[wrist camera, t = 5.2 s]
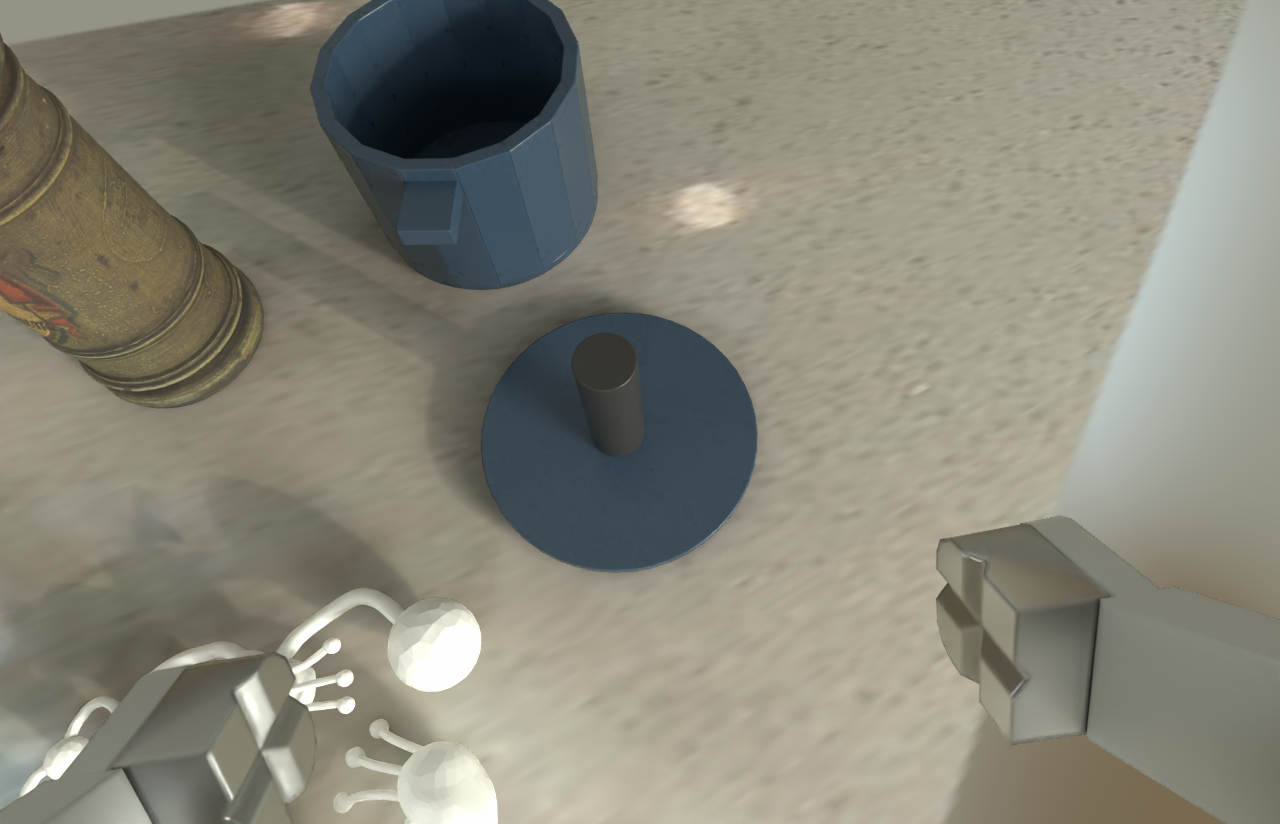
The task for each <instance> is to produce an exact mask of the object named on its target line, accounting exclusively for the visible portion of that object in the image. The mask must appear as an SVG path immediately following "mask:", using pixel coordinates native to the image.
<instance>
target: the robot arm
mask: <svg viewBox="0 0 1280 824" xmlns="http://www.w3.org/2000/svg"><path fill="white" fill-rule="evenodd" d="M936 569H937V570H938V571H939V572H940V574H941V575H942V576H943V577H944V579H945V580H946V581H947V584H946V586H945V587H944V588H943V590H942V591H941V593H940V594H939V595H938V597H937V598H936V604H937V623H938V627H939V631H940V635H941V638H942V642H943V645H944V647H945V649H946V651H947V654H948V656H949V658H950V660H951V661H952V663H953V664H954V666H955V667H956V669H957V670H958V672H959V673H960V675H962V676H964V677H966V678H968V679H970V680H972V681H974V682H976V683H978V684H980V693H979V702H980V703H981V705H982V706H983V708H984V709H985V711H986V712H987V713H988V715H989V716H990V718H991V719H992V720H993V722H994V723H995V725H996V726H997V728H998V729H999V730H1000V732H1001V733H1002V735H1003V736H1004V737H1005V739H1006V740H1007V742H1008V743H1009V744H1010V746H1011V745H1018V744H1025V743H1032V742H1038V741H1045V740H1051V739H1059V738H1066V737H1072V736H1080V735H1087V736H1086V738H1087V739H1088V740H1090V741H1091V742H1093V743H1095V744H1096V745H1098V746H1100V747H1101V748H1103V749H1104V750H1106V751H1108V752H1109V753H1111V754H1113V755H1114V756H1116V757H1118V758H1119V759H1121V760H1122V761H1124V762H1126V763H1127V764H1129V765H1131V766H1132V767H1134V768H1135V769H1137V770H1139V771H1140V772H1142V773H1144V774H1145V775H1147V776H1148V777H1150V778H1152V779H1153V780H1155V781H1157V782H1158V783H1160V784H1162V785H1163V786H1165V787H1166V788H1168V789H1170V790H1171V791H1173V792H1175V793H1176V794H1178V795H1179V796H1181V797H1183V798H1184V799H1186V800H1188V801H1189V802H1191V803H1193V804H1194V805H1196V806H1197V807H1199V808H1201V809H1202V810H1204V811H1206V812H1207V813H1209V814H1211V815H1212V816H1214V817H1215V818H1217V819H1219V820H1220V821H1222V822H1224V823H1225V824H1280V619H1278V618H1275V617H1271V616H1268V615H1265V614H1262V613H1258V612H1255V611H1252V610H1249V609H1246V608H1243V607H1239V606H1236V605H1233V604H1230V603H1226V602H1223V601H1220V600H1217V599H1213V598H1210V597H1207V596H1204V595H1201V594H1197V593H1194V592H1191V591H1188V590H1184V589H1181V588H1178V587H1175V586H1173V587H1168V588H1159V587H1158V586H1157V585H1155V584H1154V583H1153V582H1152V581H1150V580H1149V579H1148V578H1147V577H1145V576H1144V575H1143V574H1142V573H1140V572H1139V571H1138V570H1136V569H1135V568H1134V567H1133V566H1131V565H1130V564H1129V563H1128V562H1126V561H1125V560H1124V559H1122V558H1121V557H1120V556H1119V555H1117V554H1116V553H1115V552H1113V551H1112V550H1111V549H1110V548H1108V547H1107V546H1106V545H1105V544H1103V543H1102V542H1101V541H1100V540H1098V539H1097V538H1095V537H1094V536H1093V535H1092V534H1091V533H1089V532H1088V531H1087V530H1086V529H1084V528H1083V527H1082V526H1080V525H1079V524H1078V523H1077V522H1075V521H1074V520H1072V519H1071V518H1068V517H1064V516H1055V517H1050V518H1045V519H1040V520H1035V521H1030V522H1026V523H1021V524H1020V525H1015V526H1010V527H1004V528H999V529H994V530H988V531H983V532H977V533H972V534H966V535H961V536H956V537H950V538H945V539H940V542H939V545H938V548H937V557H936ZM295 679H296V677H295V675H294V673H293V671H292V668H291V666H290V664H289V662H288V660H287V658H286V657H285V656H283V655H281V654H279V653H277V652H271V653H265V654H258V655H251V656H245V657H238V658H231V659H224V660H218V661H211V662H204V663H198V664H195V665H185V666H179V667H173V668H168V669H162V670H156V671H153V672H151V673H149V674H147V675H144V676H142V677H141V678H140V679H139V681H138V682H137V683H136V684H135V685H134V687H133V688H132V689H131V690H130V692H129V693H128V694H127V695H126V697H125V698H124V699H123V700H122V701H121V703H120V704H119V705H118V706H117V708H116V709H115V710H114V711H113V713H112V714H111V715H110V716H109V717H108V719H107V720H106V721H105V722H104V724H103V725H102V726H101V727H100V728H99V730H98V731H97V732H96V733H95V735H94V736H93V737H92V738H91V740H90V741H89V742H88V743H87V744H86V746H85V747H84V748H83V749H82V751H81V752H80V753H79V754H78V755H77V757H76V758H75V759H74V760H73V762H72V763H71V764H70V765H69V767H68V768H67V769H66V770H65V771H64V773H63V774H62V775H61V776H60V778H59V779H56V780H50V781H45V782H43V783H41V784H40V785H38V786H37V787H35V788H34V789H32V790H31V791H29V792H28V793H26V794H25V795H23V796H22V797H20V798H19V799H17V800H16V801H14V802H13V803H11V804H10V805H8V806H7V807H5V808H4V809H2V810H1V811H0V824H291V823H292V821H291V819H290V816H289V814H288V812H287V809H286V807H287V806H288V805H289V804H290V803H291V802H292V801H293V800H294V799H295V798H296V797H297V796H298V795H299V794H300V793H301V792H303V791H304V790H305V789H306V787H307V784H308V782H309V779H310V776H311V774H312V771H313V769H314V763H315V754H316V745H317V740H316V733H315V727H314V722H313V719H312V717H311V714H310V712H309V709H308V707H307V706H306V705H304V704H303V703H301V702H300V701H298V700H297V699H295V698H294V697H292V696H291V695H289V694H290V691H291V689H292V687H293V684H294V682H295Z"/></svg>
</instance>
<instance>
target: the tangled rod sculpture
mask: <svg viewBox="0 0 1280 824" xmlns="http://www.w3.org/2000/svg"><path fill="white" fill-rule="evenodd" d="M363 604H365V605H368V606H370V607H373V608H375V609H377V610H378V611H379V612H381V613H382V614H383V615H384V616H385V617H386V618H387V619H388V620H389V621H391V623H392V624H393V626H392V629H391V632H390V634H389V639H388V647H387V651H388V659H389V662H390V664H391V667H392V669H393V671H394V672H395V674H396V675H397V677H398V678H399V679H400V680H401V681H402V682H404V683H405V684H407V685H409V686H411V687H413V688H415V689H418V690H420V691H441V690H444V689H447V688H450V687H452V686H453V685H455V684H457V683H458V682H460V681H461V680H463V679H464V678H465V677H466V676H467V675H468V674H469V673H470V671H471V670H472V669H473V667H474V665H475V663H476V661H477V658H478V656H479V653H480V647H481V633H480V629H479V625H478V623H477V621H476V619H475V617H474V615H473V614H472V613H471V612H470V611H469V610H468V609H467V608H466V607H465V606H464V605H462V604H461V603H459V602H457V601H455V600H451V599H448V598H440V597H432V598H428V599H423V600H420V601H418V602H416V603H414V604H413V605H411V606H409V607H408V608H407V609H406V610H404V609H403V608H402V607H401V606H400V605H398V604H397V603H396V602H395V601H394V600H393V599H391V598H390V597H389V596H387V595H385V594H383V593H381V592H379V591H377V590H375V589H368V588H359V589H353V590H351V591H349V592H347V593H345V594H343V595H341V596H339V597H338V598H337V599H335V600H334V601H332V602H331V603H329V604H328V605H326V606H325V607H323V608H322V609H320V610H319V611H317V612H316V613H314V614H313V615H312V616H310V617H309V618H308V619H307V620H305V621H304V622H303V623H302V624H300V625H299V626H298V627H297V628H295V629H294V630H293V631H292V632H291V633H290V634H289V635H288V637H287V638H286V639H285V640H284V642H283V643H282V644H281V646H280V647H279V648H278V650H277V651H276V652H277V653H279V654H281V655H283V656H285V657H286V658H287V660H288V662H289V664H290V666H291V668H292V671H293V673H294V675H295V677H296V679H295V682H294V684H293V687H292V689H291V691H290V694H289V695H291V696H292V697H294V698H295V699H297V700H298V701H300V702H301V703H303V704H304V705H306V706H307V707H308V709H309V711H315V710H323V709H331V708H338V710H339V711H340V712H341V713H343V714H348V713H350V712H351V711H352V710H353V709H354V707H355V701H354V699H353V698H352V697H349V696H345V697H343V698H342V699H340V700H331V701H321V702H313V700H314V697H315V693H316V687H319V686H323V685H327V684H331V683H335V682H337V684H338V685H339V686H342V687H346V686H348V685H350V684H351V683H352V681H353V673H352V672H351V671H350V670H347V669H345V670H342V671H340V672H339V673H338V674H336V675H331V676H327V677H322V678H318V679H316V674H315V671H314V669H313V668H312V667H310V666H311V665H313V664H314V663H315V662H317V661H318V660H320V659H321V658H322V657H323V656H324V655H325V654H326V653H329V654H334V653H336V652H338V650H339V649H340V647H341V643H340V640H339V639H338V638H336V637H329V638H327V639H326V641H325V642H324V644H323V647H322V648H321V649H319V650H318V651H317V652H315V653H314V654H313V655H312V656H310V657H309V658H308V659H306V660H305V661H304V662H301V661H298V660H295V659H292V658H293V656H294V655H295V654H296V652H297V651H298V650H299V648H300V647H301V646H302V644H303V643H304V642H305V641H306V640H307V639H309V638H310V637H311V636H312V635H313V634H315V633H316V632H317V631H319V630H320V629H321V628H323V627H324V626H325V625H327V624H328V623H329V622H331V621H332V620H334V619H335V618H337V617H339V616H340V615H342V614H343V613H345V612H346V611H348V610H349V609H351V608H353V607H354V606H358V605H363ZM258 654H265V653H263V652H261V651H258V650H252V649H250V650H245V649H244V648H243V647H241V646H239V645H237V644H235V643H232V642H224V641H218V642H214V643H210V644H206V645H203V646H199V647H195V648H191V649H187V650H185V651H183V652H181V653H179V654H177V655H175V656H173V657H171V658H169V659H168V660H166V661H165V662H163V663H161V664H160V665H159V666H158V667H156V668H155V669H154V670H153V671H156V670H162V669H168V668H173V667H179V666H185V665H194V664H197V663H201V662H204V661H208V660H212V659H216V658H222V659H231V658H238V657H245V656H251V655H258ZM153 671H151V672H153ZM151 672H150V673H151ZM312 702H313V703H312ZM119 704H120V703H119V702H118V701H117V700H115V699H113V698H111V697H108V696H98V697H96V698H95V699H93V700H91V701H89V702H88V703H87V704H86V705H85V706H84V707H83V708H82V709H81V710H80V711H79V712H78V714H77V715H76V717H75V718H74V720H73V721H72V722H71V724H70V726H69V728H68V730H67V732H66V734H65V736H64V738H63V740H61V741H59V742H57V743H56V744H55V745H54V746H52V747H51V748H50V750H49V751H48V753H47V754H46V756H45V759H44V765H42V766H41V767H40V768H38V769H37V770H36V771H35V772H33V773H32V774H31V775H30V777H29V778H28V780H27V782H26V783H25V785H24V786H23V788H22V790H21V794H20V797H22V796H23V795H25V794H26V793H28V792H29V791H31V790H32V789H34V788H35V787H36V786H37V784H38V783H39V781H40V780H41V779H42V778H43V777H45V776H46V775H48V776H49V777H50V778H51V779H54V780H56V779H59V778H60V776H61V775H62V774H63V773H64V771H65V770H66V769H67V768H68V767H69V765H70V764H71V763H72V762H73V760H74V759H75V758H76V757H77V755H78V754H79V753H80V752H81V751H82V749H83V748H84V747H85V746H86V744H87V743H88V742H89V741H90V740H88V739H86V738H84V737H79V736H77V735H78V733H79V730H80V728H81V726H82V724H83V723H84V722H85V720H86V719H87V718H88V716H89V715H90V714H91V712H92V711H93V710H94V709H96V708H98V707H102V706H103V707H105V708H107V709H109V711H110V712H111V714H112V713H113V711H114V710H115V709H116V708H117V706H118V705H119ZM370 734H371V735H372V737H374V738H375V739H380V738H383V739H384V740H385V741H387V742H389V743H390V744H392V745H395V746H397V747H400V748H402V749H404V750H406V751H409V752H411V753H413V755H412V756H411V757H410V758H409V759H408V760H407V761H406V763H405V764H404V765H403V766H400V765H395V764H391V763H386V762H381V761H377V760H374V759H370V758H367V757H366V756H365V752H364V750H363V749H362V748H360V747H354V748H351V749H350V750H349V751H348V752H347V754H346V758H345V761H346V763H347V764H348V765H349V766H350V767H353V768H355V767H358V766H360V765H361V766H363V767H365V768H368V769H371V770H374V771H379V772H383V773H388V774H393V775H397V776H399V777H398V789H397V790H388V789H375V790H363V791H360V792H358V793H355V794H351V793H350V792H348V791H342V792H340V793H339V794H337V795H336V797H335V798H334V801H333V806H334V809H335V811H337V812H339V813H345V812H347V811H349V809H350V808H351V807H352V806H353V804H354V803H357V802H360V801H367V800H379V799H380V800H389V801H397V802H400V805H401V808H402V810H403V812H404V813H405V815H406V820H405V823H404V824H497V801H496V794H495V790H494V786H493V784H492V782H491V780H490V778H489V776H488V775H487V773H486V772H485V770H484V768H483V767H482V765H481V764H480V762H479V761H478V759H477V758H476V756H475V755H474V754H473V753H472V752H471V751H470V750H469V749H468V748H467V747H465V746H463V745H461V744H460V743H456V742H451V741H437V742H433V743H430V744H428V745H425V746H421V745H418V744H416V743H413V742H411V741H409V740H406V739H404V738H401V737H399V736H396V735H395V734H393V733H391V732H390V731H389V725H388V723H387V721H386V720H384V719H378V720H375V721H374V722H373V723H372V724H371V726H370Z"/></svg>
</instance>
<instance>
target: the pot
mask: <svg viewBox="0 0 1280 824" xmlns="http://www.w3.org/2000/svg"><path fill="white" fill-rule="evenodd" d="M310 90H311V94H312V97H313V101H314V104H315V108H316V112H317V115H318V119H319V122H320V125H321V127H322V129H323V130H324V132H325V134H326V135H327V137H328V139H329V141H330V142H331V144H332V146H333V147H334V149H335V151H336V152H337V154H338V156H339V157H340V159H341V161H342V162H343V164H344V166H345V168H346V169H347V171H348V173H349V174H350V176H351V178H352V179H353V181H354V183H355V184H356V186H357V188H358V189H359V191H360V193H361V195H362V196H363V198H364V200H365V201H366V203H367V205H368V206H369V208H370V210H371V211H372V213H373V215H374V216H375V218H376V220H377V222H378V223H379V225H380V227H381V228H382V230H383V232H384V233H385V235H386V237H387V238H388V240H389V242H390V243H391V245H392V246H393V247H394V248H395V249H396V250H397V251H398V253H399V254H400V255H401V256H402V257H403V259H404V260H405V261H406V262H407V263H408V264H409V265H410V266H411V267H413V268H414V269H415V270H416V271H418V272H419V273H421V274H423V275H424V276H426V277H427V278H430V279H432V280H434V281H436V282H439V283H442V284H445V285H448V286H452V287H457V288H463V289H475V290H485V289H497V288H503V287H509V286H512V285H516V284H519V283H523V282H525V281H528V280H530V279H533V278H535V277H538V276H539V275H541V274H543V273H545V272H547V271H548V270H550V269H552V268H553V267H554V266H556V265H557V264H559V263H560V262H561V261H563V260H564V259H565V258H566V257H567V256H568V255H569V254H570V253H571V252H572V251H573V250H574V249H575V248H576V247H577V245H578V244H579V243H580V242H581V240H582V239H583V237H584V236H585V234H586V233H587V231H588V229H589V227H590V225H591V222H592V220H593V217H594V214H595V210H596V205H597V169H596V162H595V155H594V148H593V141H592V134H591V127H590V121H589V114H588V107H587V100H586V93H585V86H584V79H583V72H582V65H581V58H580V51H579V44H578V41H577V39H576V37H575V35H574V33H573V31H572V29H571V27H570V25H569V23H568V21H567V19H566V17H565V15H564V13H563V11H562V10H561V9H560V8H558V7H557V6H555V5H554V4H553V3H551V2H550V1H549V0H372V1H370V2H368V3H367V4H365V5H364V6H362V7H360V8H359V9H357V10H356V11H354V12H353V13H351V14H349V16H347V17H346V19H345V20H344V21H343V22H342V23H341V25H340V26H339V27H338V28H337V30H336V31H335V32H334V33H333V34H332V36H331V37H330V38H329V39H328V41H327V42H326V43H325V44H324V46H323V47H322V48H321V50H320V53H319V56H318V60H317V64H316V68H315V71H314V75H313V79H312V82H311V86H310Z"/></svg>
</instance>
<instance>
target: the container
mask: <svg viewBox="0 0 1280 824" xmlns="http://www.w3.org/2000/svg"><path fill="white" fill-rule="evenodd" d="M0 309H2V310H3V311H5V312H6V313H8V314H9V315H11V316H13V317H14V318H16V319H17V320H19V321H20V322H22V323H23V324H25V325H26V326H28V327H30V328H31V329H33V330H34V331H36V332H37V333H39V334H41V336H42V337H43V338H44V339H45V340H46V341H47V342H48V343H50V344H51V345H52V346H53V347H55V348H56V349H58V350H60V351H62V352H64V353H67V354H70V355H72V356H74V357H75V358H77V359H78V360H79V362H80V364H81V366H82V367H83V369H84V370H85V371H86V372H87V373H88V374H89V375H90V376H91V377H92V378H93V379H95V380H96V381H97V382H99V383H101V384H103V385H105V386H106V387H107V388H108V389H109V390H110V391H111V392H112V393H114V394H115V395H116V396H118V397H120V398H121V399H124V400H126V401H128V402H131V403H134V404H137V405H141V406H146V407H153V408H174V407H180V406H185V405H189V404H192V403H195V402H198V401H201V400H203V399H205V398H207V397H209V396H211V395H213V394H214V393H216V392H218V391H219V390H221V389H222V388H224V387H225V386H226V385H228V384H229V383H230V382H231V381H232V380H234V379H235V378H236V377H237V376H238V375H239V373H240V372H241V371H242V370H243V369H244V368H245V367H246V365H247V364H248V363H249V361H250V360H251V358H252V356H253V354H254V352H255V350H256V348H257V346H258V344H259V341H260V338H261V334H262V329H263V308H262V304H261V300H260V298H259V295H258V293H257V291H256V289H255V287H254V285H253V284H252V282H251V281H250V280H249V278H248V277H247V276H246V275H245V274H244V273H243V272H242V271H241V270H239V269H238V268H237V267H235V266H234V265H232V264H231V263H230V261H229V260H228V259H227V258H226V257H225V256H224V255H222V254H221V253H220V252H219V251H217V250H215V249H214V248H212V247H210V246H207V245H205V244H202V243H200V242H199V240H198V239H197V238H196V236H195V235H194V233H193V232H192V231H191V230H190V228H189V227H188V226H186V225H185V224H184V223H183V222H181V221H180V220H178V219H177V218H175V217H174V216H172V215H170V214H169V213H168V212H167V211H166V210H165V209H164V208H163V207H162V206H160V205H159V204H158V203H157V202H156V201H155V200H154V199H153V198H152V197H151V196H150V195H149V194H148V193H147V192H146V191H145V190H144V189H143V188H142V187H141V186H140V185H139V184H138V183H137V182H136V181H135V180H134V179H133V178H132V177H131V176H130V175H129V174H128V173H127V172H126V171H125V170H124V169H123V168H122V167H121V166H120V165H119V164H118V163H117V162H116V161H115V160H114V159H113V158H112V157H111V156H110V155H109V154H108V153H107V152H106V151H105V150H104V149H103V148H102V147H101V146H100V145H99V144H98V143H97V142H96V141H95V140H94V139H93V138H92V137H91V136H90V135H89V134H88V133H87V132H86V131H85V130H84V129H83V128H82V127H81V126H80V125H79V124H78V123H77V122H76V120H75V119H73V118H72V117H71V116H70V115H69V113H68V111H67V110H66V108H65V106H64V105H63V103H62V102H61V101H60V100H59V99H58V98H57V97H56V96H55V95H54V94H53V93H51V92H50V91H49V90H47V89H45V88H44V87H42V86H40V85H38V84H37V83H36V82H35V81H34V80H33V79H32V78H31V77H29V76H28V75H27V74H26V73H25V71H24V70H23V68H22V67H21V65H20V62H19V60H18V58H17V57H16V55H15V54H14V52H13V51H12V50H11V49H10V48H9V47H8V46H7V45H6V44H5V43H4V42H3V39H2V36H1V34H0Z"/></svg>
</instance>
